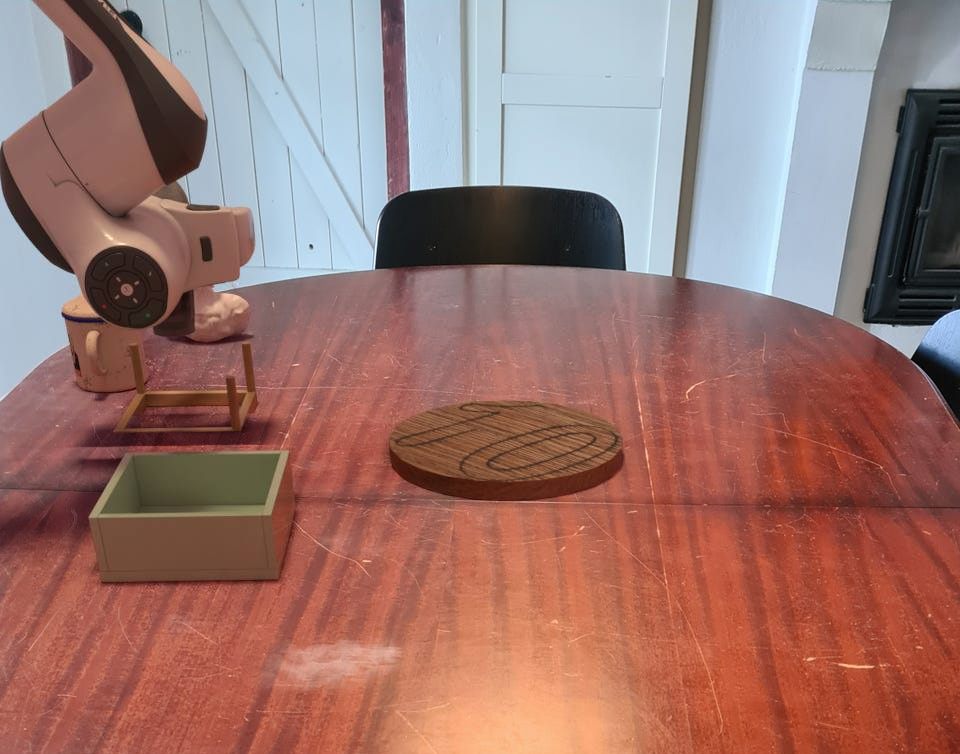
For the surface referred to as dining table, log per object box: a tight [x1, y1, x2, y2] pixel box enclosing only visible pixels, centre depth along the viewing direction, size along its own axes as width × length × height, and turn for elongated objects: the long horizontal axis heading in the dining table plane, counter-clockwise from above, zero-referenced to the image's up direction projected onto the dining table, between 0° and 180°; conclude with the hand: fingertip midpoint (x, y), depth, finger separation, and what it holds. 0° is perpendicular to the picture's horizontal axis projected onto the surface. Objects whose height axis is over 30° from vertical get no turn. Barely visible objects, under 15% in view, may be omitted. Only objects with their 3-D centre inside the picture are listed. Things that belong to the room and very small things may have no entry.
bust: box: [184, 285, 251, 343], centre depth 165 cm, size 12×8×11 cm
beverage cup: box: [152, 180, 195, 338], centre depth 129 cm, size 7×7×20 cm
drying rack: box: [112, 341, 258, 434], centre depth 140 cm, size 14×14×7 cm
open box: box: [88, 449, 297, 583], centre depth 113 cm, size 16×16×6 cm
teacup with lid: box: [60, 292, 149, 393], centre depth 149 cm, size 12×9×12 cm
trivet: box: [388, 399, 624, 501], centre depth 132 cm, size 25×25×2 cm
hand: (158, 218), depth 129 cm, fingers closed on beverage cup, 7 cm apart
